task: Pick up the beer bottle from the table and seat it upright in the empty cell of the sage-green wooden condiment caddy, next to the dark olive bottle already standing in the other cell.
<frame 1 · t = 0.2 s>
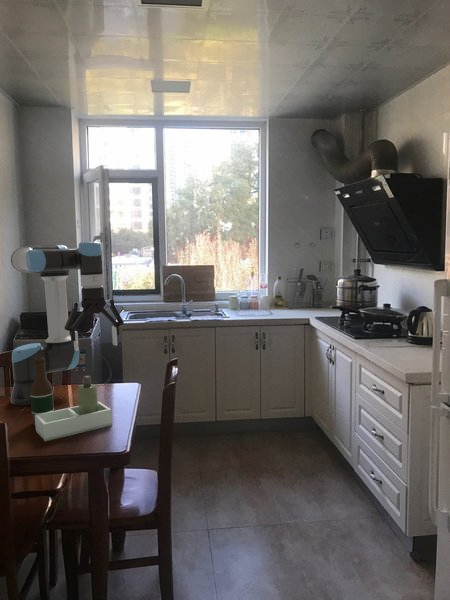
hand: (96, 347, 172), 28 cm above the table, fingers open, 13 cm apart
caddy: (74, 428, 172), on the table
beer bottle: (43, 423, 179), on the table
olive bottle: (89, 422, 175), point 1 cm above the table, touching caddy
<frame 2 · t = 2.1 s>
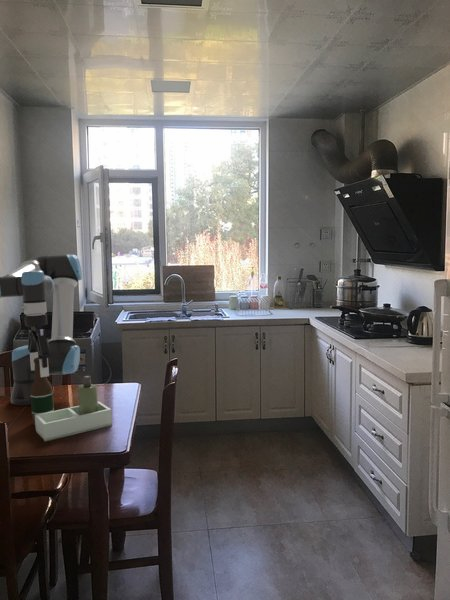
hand: (39, 373, 177), 18 cm above the table, fingers open, 13 cm apart
nothing on the table moved.
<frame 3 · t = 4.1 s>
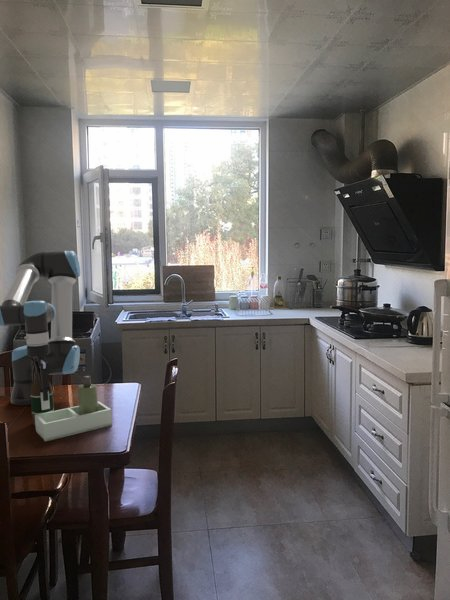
hand: (42, 406, 179), 6 cm above the table, fingers closed on beer bottle, 8 cm apart
beer bottle: (44, 423, 179), on the table, touching gripper
everything else where it was.
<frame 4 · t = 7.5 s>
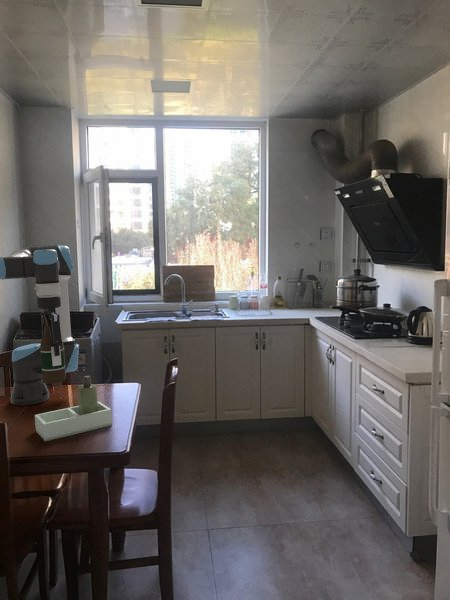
hand: (53, 363, 167), 24 cm above the table, fingers closed on beer bottle, 8 cm apart
beer bottle: (54, 381, 167), point 18 cm above the table, touching gripper
everything else where it was.
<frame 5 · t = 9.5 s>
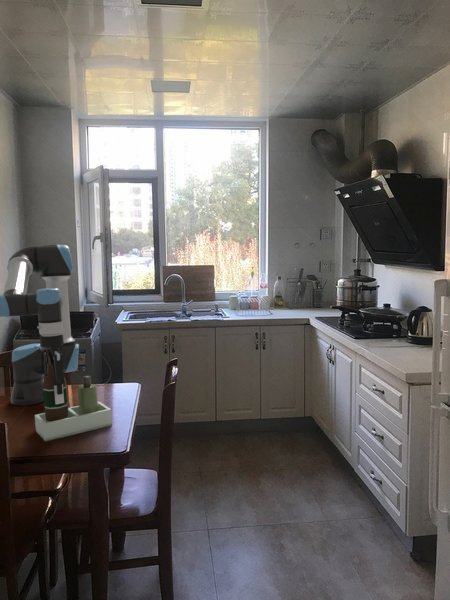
hand: (56, 400, 168), 11 cm above the table, fingers closed on beer bottle, 8 cm apart
beer bottle: (57, 418, 169), point 5 cm above the table, touching gripper
everything else where it was.
when the fingers open (9 cm above the table, at t = 11.0 s): beer bottle drops 2 cm, resting on caddy.
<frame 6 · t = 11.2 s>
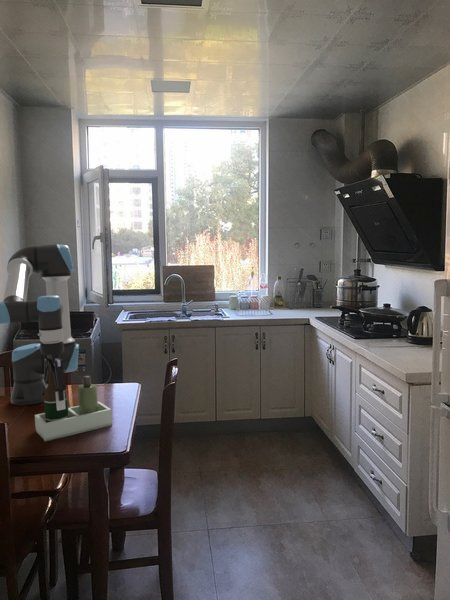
hand: (56, 405, 168), 9 cm above the table, fingers open, 10 cm apart
beer bottle: (58, 430, 169), point 1 cm above the table, touching caddy
everything else where it was.
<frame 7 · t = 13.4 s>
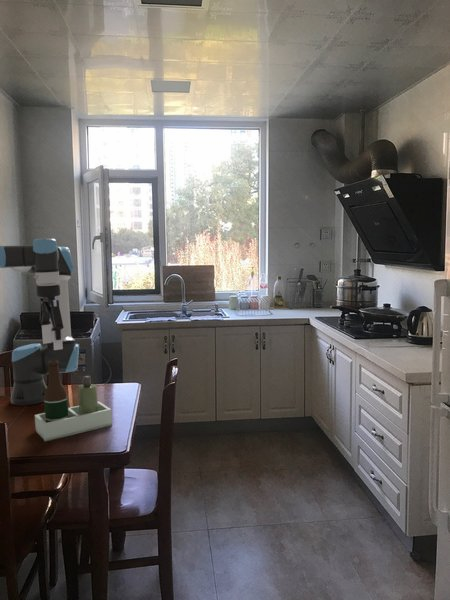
hand: (52, 346, 169), 29 cm above the table, fingers open, 13 cm apart
nothing on the table moved.
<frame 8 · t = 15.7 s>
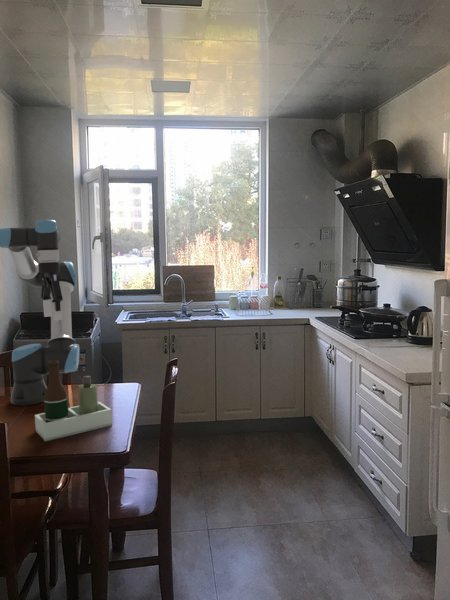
hand: (52, 318, 186), 37 cm above the table, fingers open, 13 cm apart
nothing on the table moved.
at the end: beer bottle inside the target area on the caddy (0.1 cm from its centre), point 0.6 cm above the caddy's base; beer bottle tilted 0°; the gripper is holding nothing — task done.
